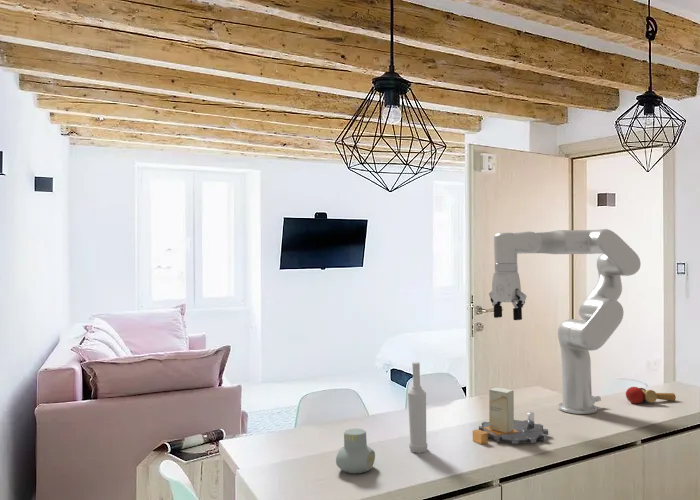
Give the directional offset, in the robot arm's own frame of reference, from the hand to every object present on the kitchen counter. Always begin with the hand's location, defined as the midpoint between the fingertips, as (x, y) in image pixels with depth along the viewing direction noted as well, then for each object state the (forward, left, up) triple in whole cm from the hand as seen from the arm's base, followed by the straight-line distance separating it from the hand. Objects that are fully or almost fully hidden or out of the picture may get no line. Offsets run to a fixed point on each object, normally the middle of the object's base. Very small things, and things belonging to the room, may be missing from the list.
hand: (507, 318), depth 189 cm
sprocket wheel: (+13, +16, -33) cm, 39 cm away
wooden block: (+18, +16, -33) cm, 41 cm away
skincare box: (+17, +15, -31) cm, 39 cm away
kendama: (-55, +12, -34) cm, 66 cm away
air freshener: (+67, +16, -34) cm, 77 cm away
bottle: (+45, +12, -34) cm, 57 cm away
